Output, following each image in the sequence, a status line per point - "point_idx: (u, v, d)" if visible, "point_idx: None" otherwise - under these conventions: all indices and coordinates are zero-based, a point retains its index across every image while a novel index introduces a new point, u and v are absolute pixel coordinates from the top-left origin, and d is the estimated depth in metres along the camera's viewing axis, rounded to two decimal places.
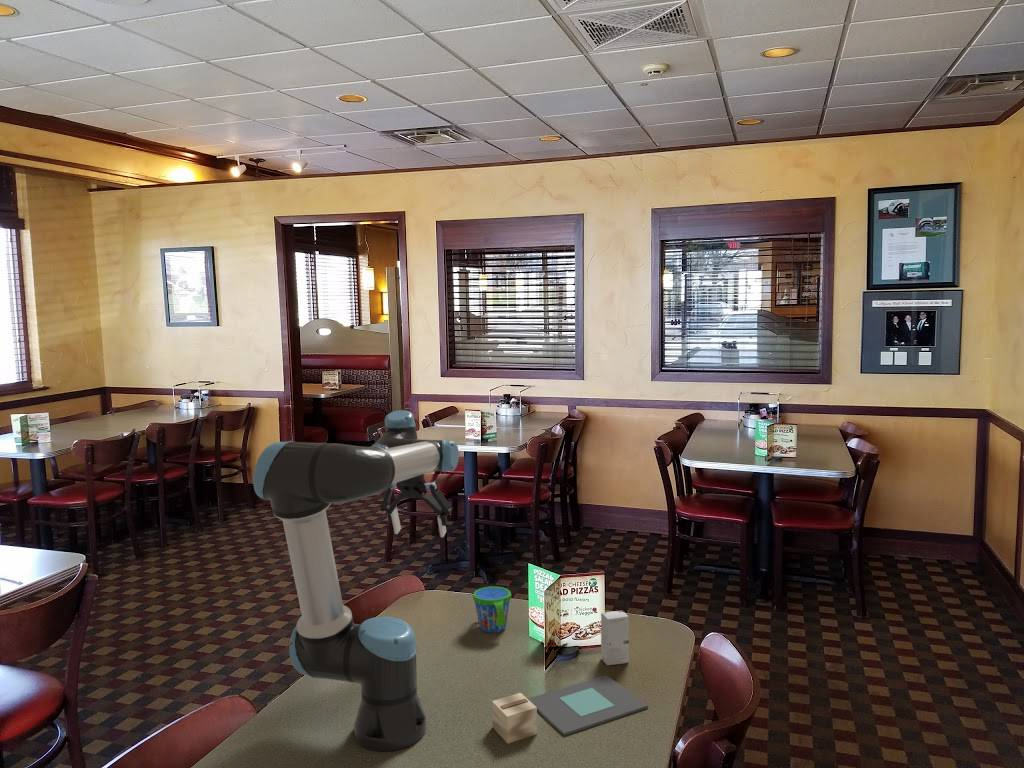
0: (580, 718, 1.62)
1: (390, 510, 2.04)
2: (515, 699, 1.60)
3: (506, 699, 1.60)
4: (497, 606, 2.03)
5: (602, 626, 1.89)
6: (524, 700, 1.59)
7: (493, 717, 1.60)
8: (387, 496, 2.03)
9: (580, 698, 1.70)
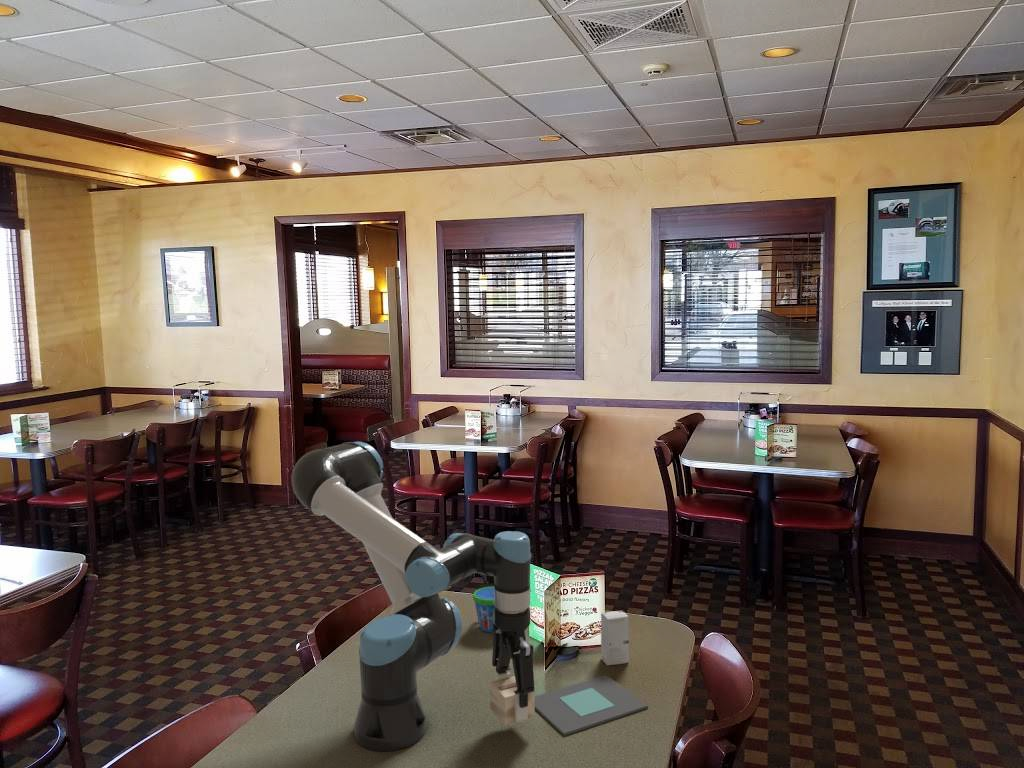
0: (580, 718, 1.62)
1: (497, 668, 1.61)
2: (513, 681, 1.60)
3: (504, 680, 1.60)
4: None
5: (602, 626, 1.89)
6: None
7: (491, 698, 1.59)
8: (494, 643, 1.62)
9: (580, 698, 1.70)
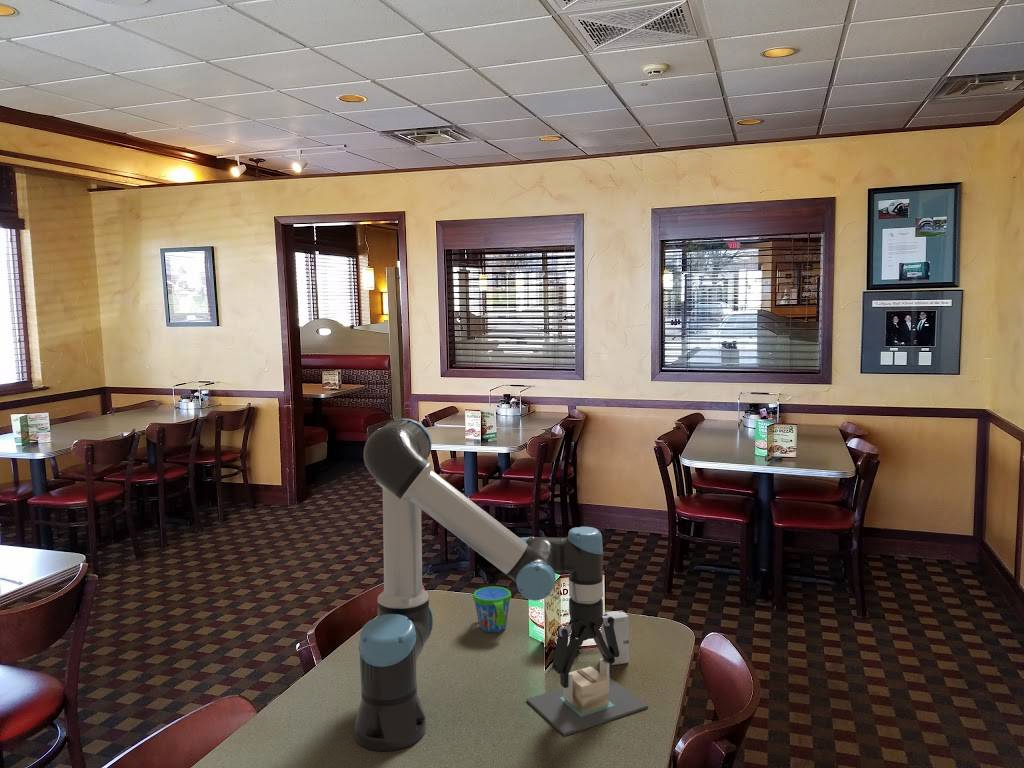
0: (580, 718, 1.62)
1: (569, 668, 1.64)
2: (577, 676, 1.68)
3: (577, 680, 1.66)
4: (497, 606, 2.03)
5: (602, 626, 1.89)
6: (580, 670, 1.70)
7: (584, 702, 1.64)
8: (565, 648, 1.63)
9: None
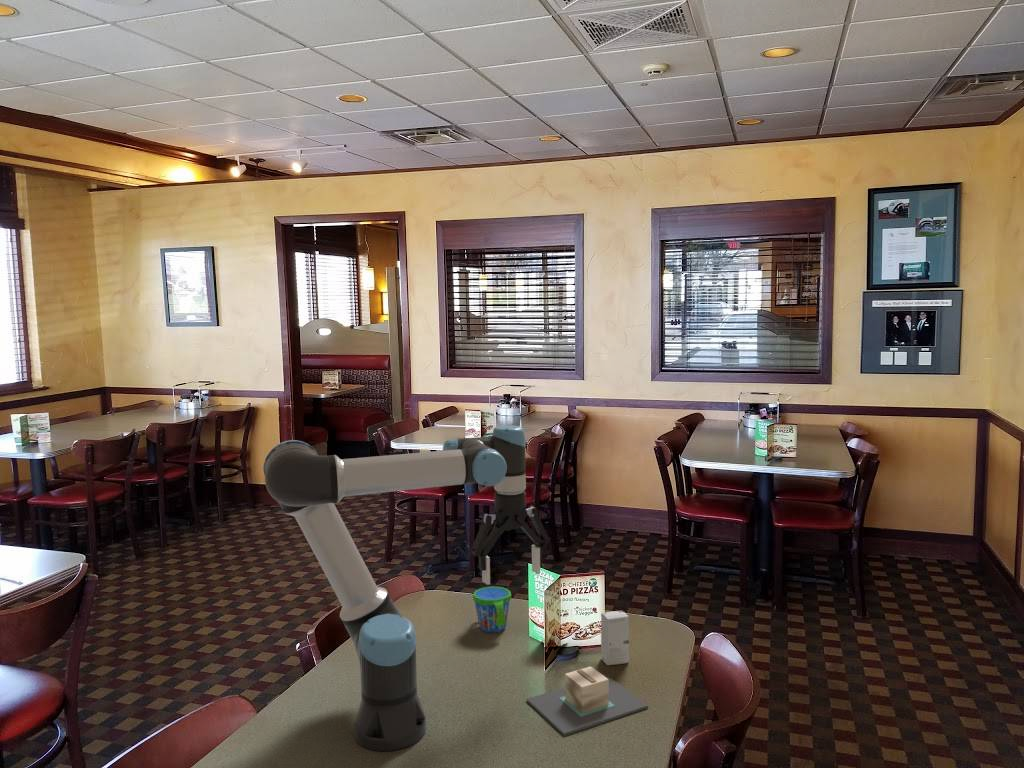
0: (580, 718, 1.62)
1: (486, 552, 1.75)
2: (577, 676, 1.68)
3: (577, 680, 1.66)
4: (497, 606, 2.03)
5: (602, 626, 1.89)
6: (580, 670, 1.70)
7: (584, 702, 1.64)
8: (486, 534, 1.74)
9: None
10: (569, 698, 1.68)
